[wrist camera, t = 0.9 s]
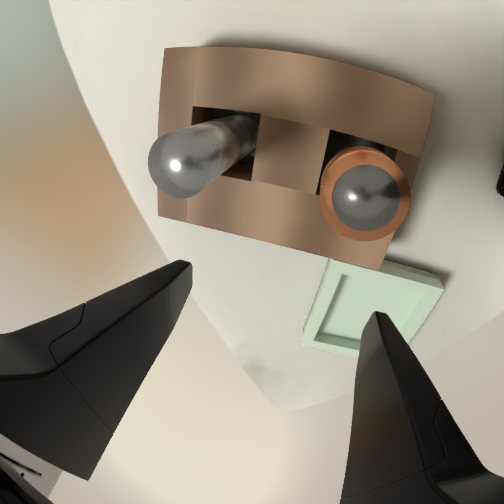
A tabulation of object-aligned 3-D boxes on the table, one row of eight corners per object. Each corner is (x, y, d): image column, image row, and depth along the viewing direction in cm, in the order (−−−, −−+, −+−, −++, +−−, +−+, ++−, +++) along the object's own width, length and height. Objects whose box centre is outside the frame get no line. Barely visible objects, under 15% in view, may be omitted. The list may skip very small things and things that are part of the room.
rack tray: (438, 274, 20) (444, 289, 18) (390, 348, 25) (392, 363, 24) (333, 245, 21) (333, 259, 19) (302, 329, 27) (300, 344, 25)
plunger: (395, 147, 13) (422, 169, 9) (377, 208, 16) (392, 250, 12) (329, 128, 14) (331, 141, 10) (315, 191, 16) (310, 228, 12)
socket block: (417, 94, 13) (435, 94, 11) (372, 244, 20) (378, 270, 17) (189, 53, 16) (164, 48, 13) (179, 198, 22) (158, 215, 19)
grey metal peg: (262, 117, 17) (212, 135, 10) (256, 157, 19) (207, 204, 12) (221, 112, 18) (148, 129, 10) (217, 151, 19) (148, 192, 12)
